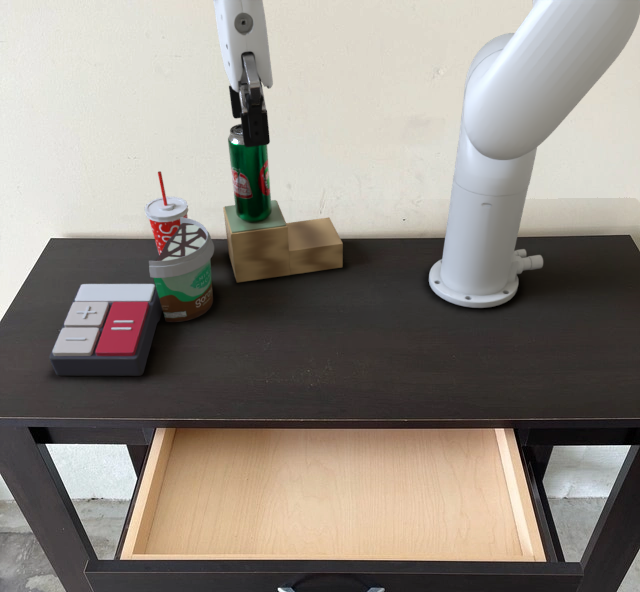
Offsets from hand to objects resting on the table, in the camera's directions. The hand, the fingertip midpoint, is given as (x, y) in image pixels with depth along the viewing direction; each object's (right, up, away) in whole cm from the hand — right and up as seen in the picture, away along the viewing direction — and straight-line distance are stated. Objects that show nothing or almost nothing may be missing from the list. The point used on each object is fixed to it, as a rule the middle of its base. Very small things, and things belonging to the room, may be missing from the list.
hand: (250, 130), depth 85 cm
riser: (+4, -13, +15) cm, 20 cm away
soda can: (0, -8, +9) cm, 12 cm away
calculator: (-18, -27, +2) cm, 33 cm away
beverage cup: (-13, -13, +15) cm, 24 cm away
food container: (-8, -21, +7) cm, 24 cm away
